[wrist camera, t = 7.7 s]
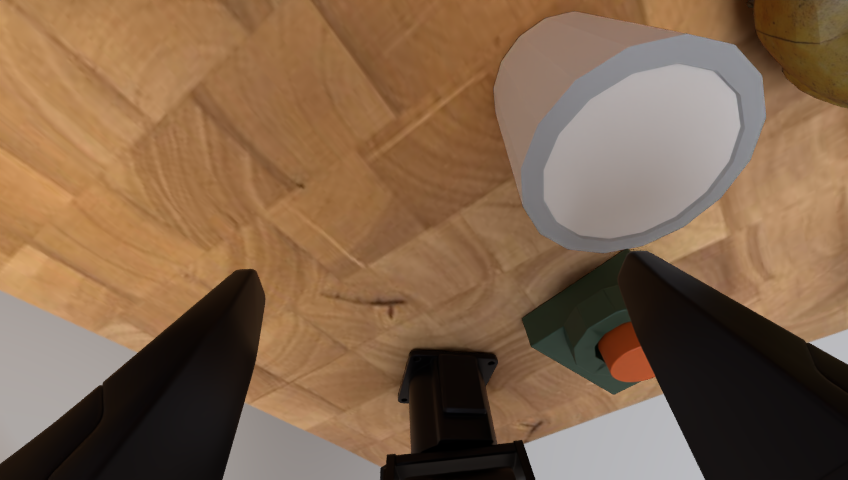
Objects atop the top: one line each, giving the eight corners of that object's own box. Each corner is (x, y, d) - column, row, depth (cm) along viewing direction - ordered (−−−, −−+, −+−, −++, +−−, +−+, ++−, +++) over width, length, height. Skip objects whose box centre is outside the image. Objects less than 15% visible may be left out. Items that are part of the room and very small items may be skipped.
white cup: (456, 41, 15) (492, 107, 10) (636, -44, 14) (792, -21, 9) (502, 180, 19) (546, 280, 14) (645, 125, 18) (754, 212, 13)
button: (673, 333, 23) (691, 360, 21) (617, 363, 24) (631, 389, 23) (642, 308, 21) (660, 335, 20) (585, 341, 22) (597, 368, 21)
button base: (702, 313, 27) (742, 363, 24) (600, 368, 31) (624, 417, 28) (621, 235, 22) (659, 286, 19) (511, 312, 26) (527, 365, 23)
